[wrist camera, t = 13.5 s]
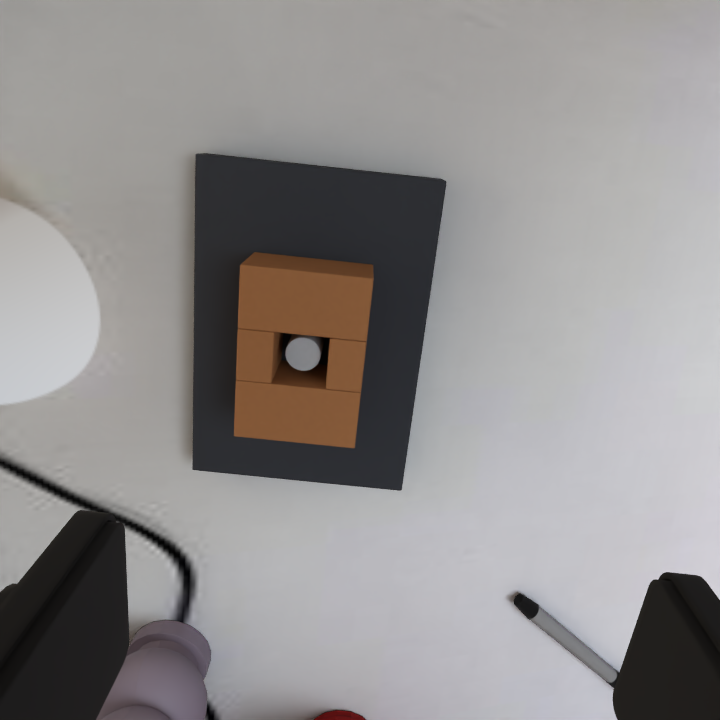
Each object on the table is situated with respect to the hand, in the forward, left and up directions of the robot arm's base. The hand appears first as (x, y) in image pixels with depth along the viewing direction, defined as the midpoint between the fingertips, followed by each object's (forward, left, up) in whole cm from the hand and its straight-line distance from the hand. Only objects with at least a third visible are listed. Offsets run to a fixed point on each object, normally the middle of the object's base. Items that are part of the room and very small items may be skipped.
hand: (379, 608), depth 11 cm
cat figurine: (+32, -13, -28) cm, 44 cm away
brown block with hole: (+4, -4, -26) cm, 27 cm away
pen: (+28, +20, -28) cm, 44 cm away
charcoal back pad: (+4, -4, -28) cm, 29 cm away
